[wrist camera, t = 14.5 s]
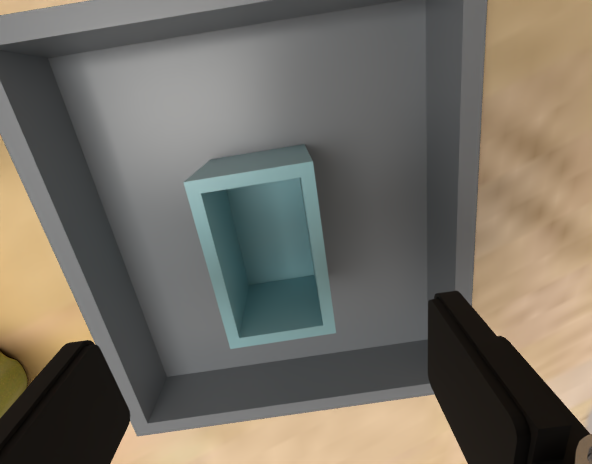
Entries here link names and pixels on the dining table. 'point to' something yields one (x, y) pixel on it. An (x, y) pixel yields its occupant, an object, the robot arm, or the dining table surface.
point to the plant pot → (10, 382)
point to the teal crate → (264, 245)
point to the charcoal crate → (240, 140)
